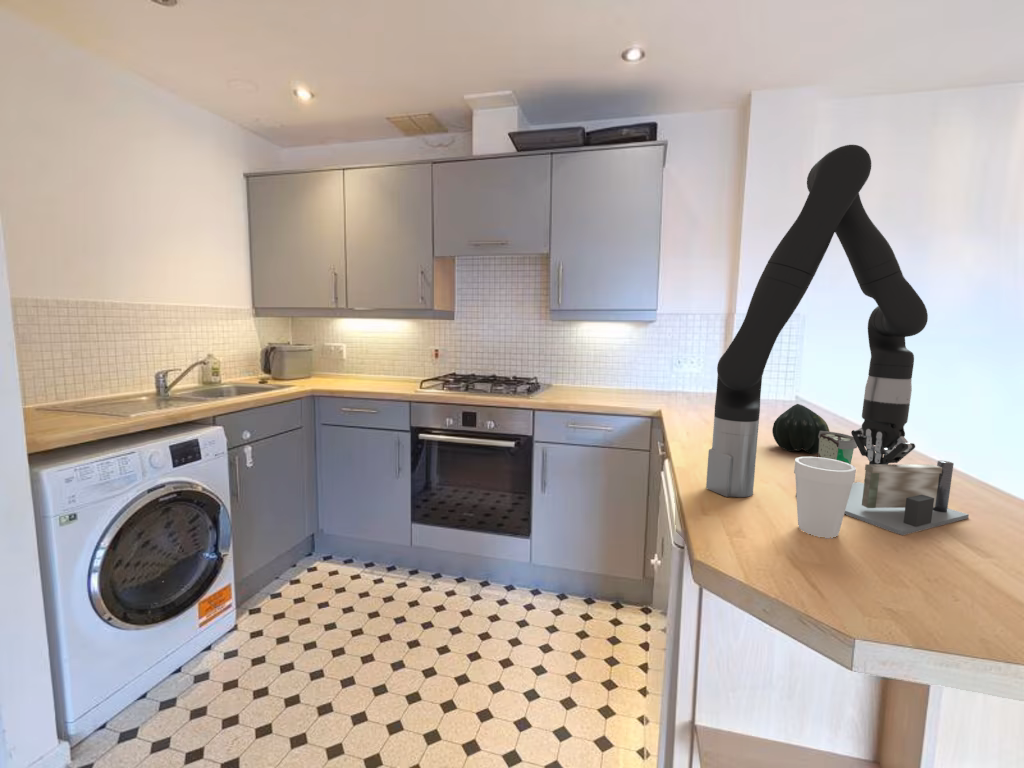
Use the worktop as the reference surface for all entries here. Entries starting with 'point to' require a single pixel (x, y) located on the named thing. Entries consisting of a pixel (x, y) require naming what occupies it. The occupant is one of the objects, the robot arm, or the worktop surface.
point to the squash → (799, 429)
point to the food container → (836, 446)
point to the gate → (898, 484)
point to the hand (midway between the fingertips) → (876, 479)
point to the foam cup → (822, 494)
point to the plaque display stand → (909, 508)
